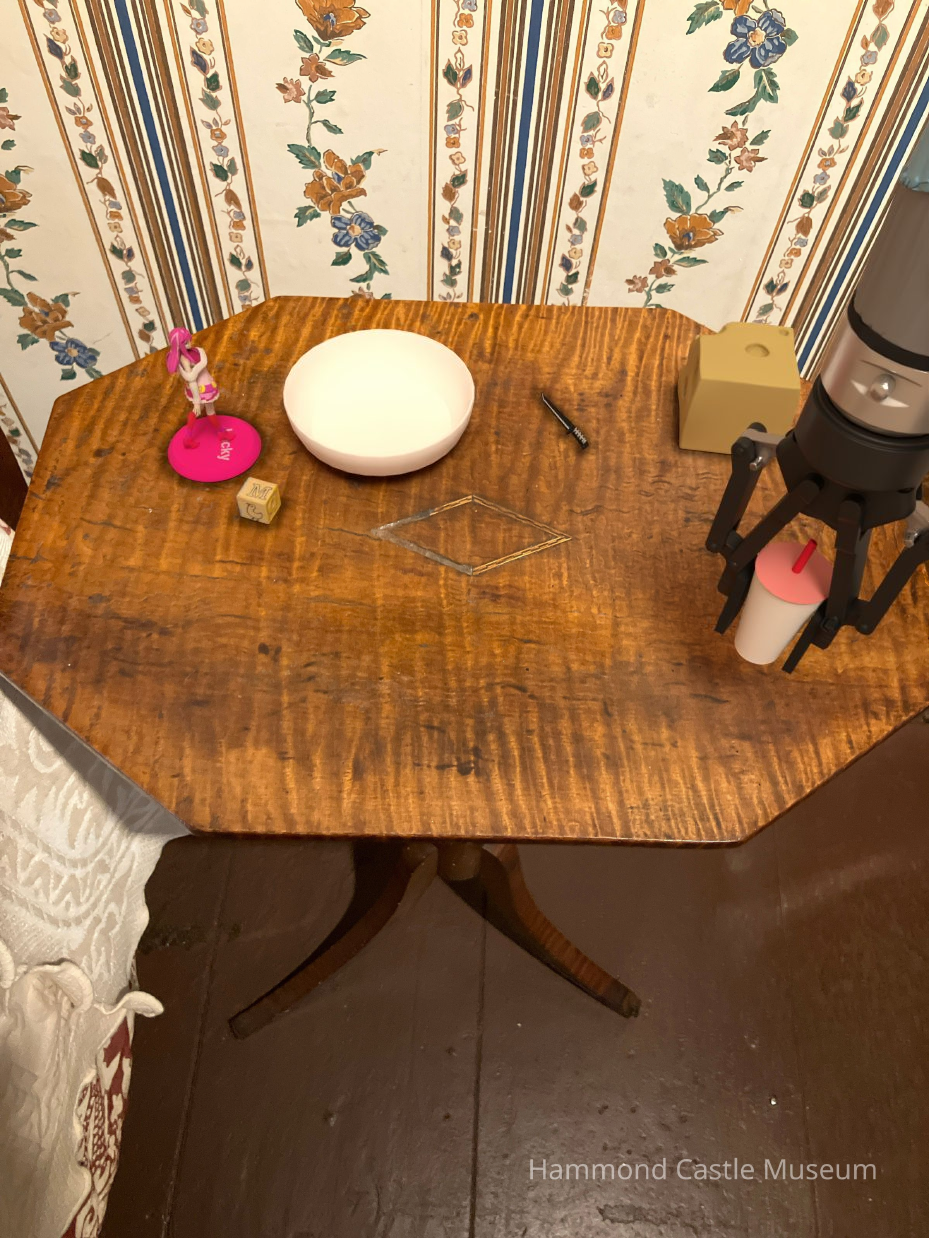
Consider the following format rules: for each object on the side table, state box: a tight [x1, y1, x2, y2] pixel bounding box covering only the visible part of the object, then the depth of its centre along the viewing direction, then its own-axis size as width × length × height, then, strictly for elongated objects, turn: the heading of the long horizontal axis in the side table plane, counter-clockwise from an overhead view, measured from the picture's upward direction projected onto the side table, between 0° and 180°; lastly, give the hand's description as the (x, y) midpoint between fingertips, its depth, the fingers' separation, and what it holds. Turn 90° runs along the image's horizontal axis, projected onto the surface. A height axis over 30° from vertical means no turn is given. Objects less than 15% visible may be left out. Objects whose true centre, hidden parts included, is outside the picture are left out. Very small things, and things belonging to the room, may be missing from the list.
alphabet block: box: [235, 476, 282, 525], centre depth 86 cm, size 3×3×3 cm
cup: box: [734, 537, 834, 665], centre depth 61 cm, size 5×5×12 cm
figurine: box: [165, 326, 262, 483], centre depth 86 cm, size 10×10×15 cm
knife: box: [541, 392, 590, 450], centre depth 96 cm, size 10×2×1 cm, turn 27°
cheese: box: [677, 321, 802, 455], centre depth 92 cm, size 10×11×10 cm
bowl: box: [282, 328, 476, 477], centre depth 92 cm, size 20×20×6 cm
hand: (759, 640), depth 66 cm, fingers closed on cup, 5 cm apart
